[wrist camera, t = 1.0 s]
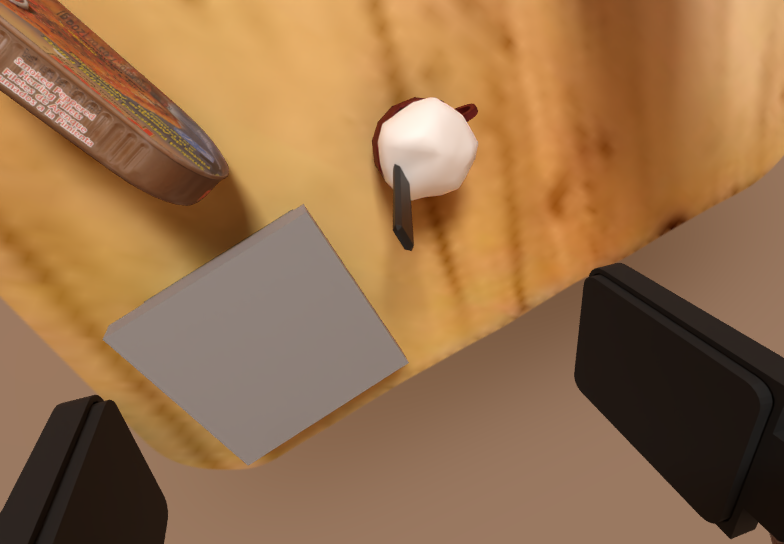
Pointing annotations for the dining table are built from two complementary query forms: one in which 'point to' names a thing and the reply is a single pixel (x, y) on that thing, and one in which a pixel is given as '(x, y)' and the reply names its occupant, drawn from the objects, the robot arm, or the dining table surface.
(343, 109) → the dining table surface
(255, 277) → the stand
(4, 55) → the tin
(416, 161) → the cocoa
